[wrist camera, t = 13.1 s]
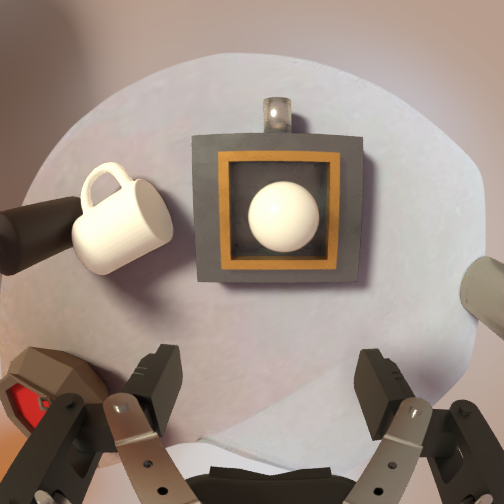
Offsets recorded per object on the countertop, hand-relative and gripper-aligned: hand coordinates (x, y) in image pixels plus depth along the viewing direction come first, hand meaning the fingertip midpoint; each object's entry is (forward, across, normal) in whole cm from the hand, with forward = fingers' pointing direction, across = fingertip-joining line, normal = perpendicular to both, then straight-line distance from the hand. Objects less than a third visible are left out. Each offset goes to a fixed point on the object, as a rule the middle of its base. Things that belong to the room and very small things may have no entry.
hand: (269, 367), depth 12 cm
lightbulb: (+24, -1, -4) cm, 24 cm away
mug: (+25, +18, -4) cm, 31 cm away
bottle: (+25, +27, -3) cm, 37 cm away
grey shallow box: (+25, -1, -6) cm, 26 cm away
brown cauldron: (+25, +34, +28) cm, 50 cm away
